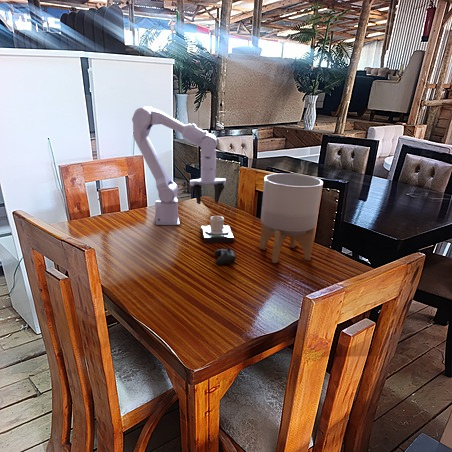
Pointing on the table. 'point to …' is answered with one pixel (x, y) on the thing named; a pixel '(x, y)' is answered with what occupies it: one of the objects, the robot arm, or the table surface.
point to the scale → (217, 235)
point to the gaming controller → (225, 256)
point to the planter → (290, 211)
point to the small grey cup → (216, 223)
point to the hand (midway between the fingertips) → (207, 202)
